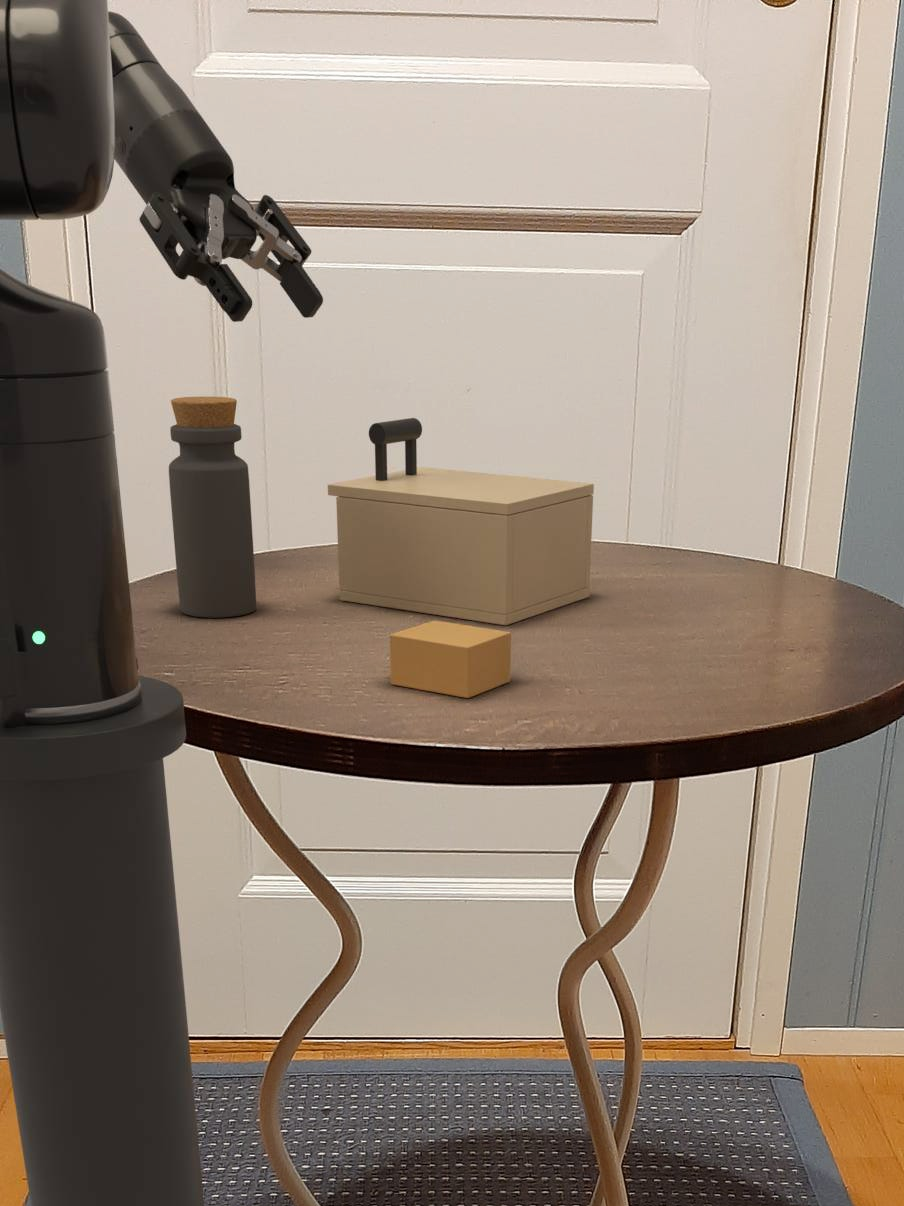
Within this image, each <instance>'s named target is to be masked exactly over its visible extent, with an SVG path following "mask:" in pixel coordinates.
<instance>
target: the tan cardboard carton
mask: <svg viewBox="0 0 904 1206" xmlns="http://www.w3.org/2000/svg"><path fill="white" fill-rule="evenodd" d="M511 650H512V633H511V632H510V631H505V630H498V629H492V628H486V627H479V626H473V625H465V624H461V623H454V622H448V621H447V622H446V621H440V620H431V621H429V622H426V623H422V624H419V625H416V626H413V627H409V628H406V629H404V630H401V631H397V632H394V633H391V634H389V657H390V658H389V659H390V661H389V663H390V685H393V686H397V687H404V688H409V689H415V690H420V691H425V692H432V693H435V694H436V693H437V694H441V695H447V696H448V695H449V696H454V697H459V698H464V699H470V698H472V697H475V696H477V695H480V694H482V693H485V692H487V691H490V690H492V689H495V688H497V687H500V686H503V685H505V684H507V683H510V682H511V657H512V656H511V652H512V651H511Z"/></svg>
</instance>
